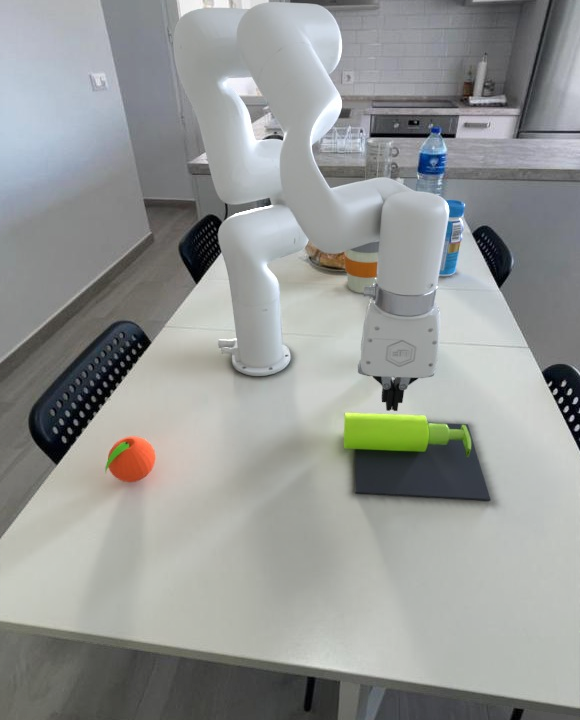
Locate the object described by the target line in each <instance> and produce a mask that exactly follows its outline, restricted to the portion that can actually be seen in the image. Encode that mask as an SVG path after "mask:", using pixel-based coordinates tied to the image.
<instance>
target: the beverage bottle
mask: <svg viewBox="0 0 580 720" xmlns="http://www.w3.org/2000/svg"><path fill="white" fill-rule="evenodd" d="M444 200H445V201H446V202H447V204H448V207H449V217H448V224H447V230H446V236H445V242H444V248H443V254H442V260H441V266H440V271H439V277H451V276H452V275H454V274H455V273H456V270H457V264H458V258H459V254H460V249H461V245H462V244H461V243H462V241H463V234H462V233H463V231H464V227H465V226H464V223H463V222H464V221H463V220H462V218H463V217H464V214H465V209H466V203H465V202H464V201H462V200H458V199H444Z"/></svg>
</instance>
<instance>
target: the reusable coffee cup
mask: <svg viewBox="0 0 580 720" xmlns="http://www.w3.org/2000/svg"><path fill="white" fill-rule="evenodd" d="M378 251H379V241H377V242H372V243H367V244H365V245H362V246H359V247H356V248H353V249H350V250H347V251H344V252H343V262H344V271H345V272H346V277H347V287H348V289H349V290H351V291H352V292H355V293H359V294H364V286H370V285H373V283H375V282H376V275H377V263H378Z"/></svg>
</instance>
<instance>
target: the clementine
mask: <svg viewBox="0 0 580 720" xmlns="http://www.w3.org/2000/svg"><path fill="white" fill-rule="evenodd" d="M155 463H156V452H155V449H154V447H153V445H152V443H151V442H149V441H148V440H147V439H145V438H143V437H140V436H136V435H135V436H133V435H132V436H127V437H126V436H125V437H123V438H121V439H119V440H118V441H116V443H114V444H113V445H112V447H111V449H110V450H109V453H108V455H107V461H106V465H105V475H107V471H108V470H109V472H110V474H112V476H113V477H115V479H117V480H120V481H122V482H127V483H131V482H132V483H133V482H138V481H140V480H143V479H145V478H146V477H147V476H148V475H149V474H150V473H151V472H152V470H153V469H154V466H155Z"/></svg>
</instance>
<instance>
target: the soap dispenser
mask: <svg viewBox="0 0 580 720" xmlns="http://www.w3.org/2000/svg"><path fill="white" fill-rule="evenodd" d="M343 421H344V425H343V449H345V450H355V449H368V450H394V451H420V452H425V451H426V448H427V445H428V444H441V445H446V444H447V443H448V442H449V440H463V443H464V447H465V455H466V456H467V457H469V454H470V450H471V438H470V435H469V432H468V430H467V427H466V425H462V426H461V430H459V429H449V427H448V426H447V424H436V423H437V422H428V419H427V417H426V415H424V414H422V415H421V414H419V415H418V414H393V413H391V414H390V413H367V412H366V413H364V412H363V413H362V412H344V420H343ZM427 422H428V423H427Z"/></svg>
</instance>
